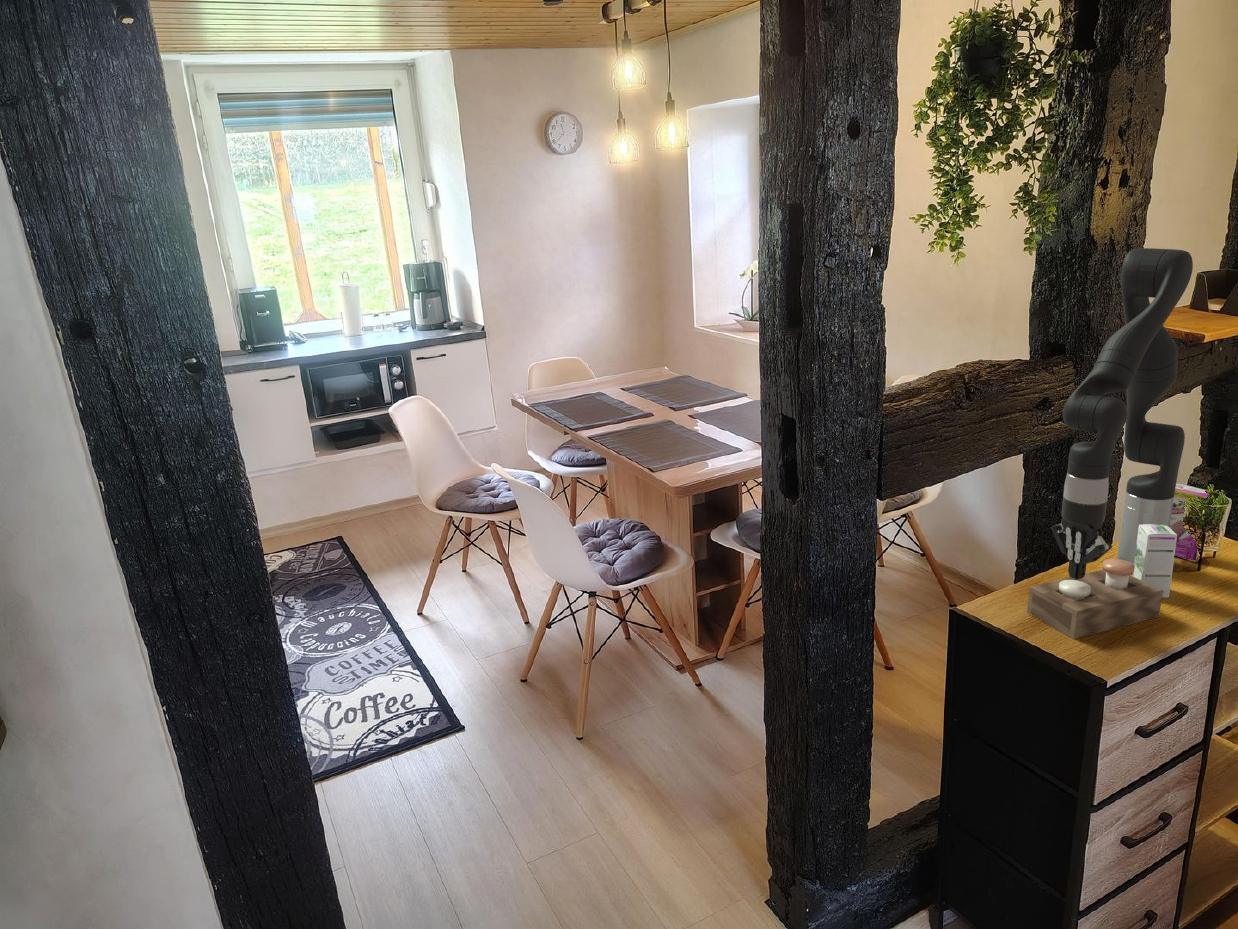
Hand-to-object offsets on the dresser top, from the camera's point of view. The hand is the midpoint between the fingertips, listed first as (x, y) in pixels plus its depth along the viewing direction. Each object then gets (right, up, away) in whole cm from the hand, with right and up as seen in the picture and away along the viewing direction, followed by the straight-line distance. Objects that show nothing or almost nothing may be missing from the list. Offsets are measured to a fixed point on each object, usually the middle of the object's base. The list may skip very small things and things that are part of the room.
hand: (1075, 577), depth 171 cm
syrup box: (+23, -5, +13) cm, 26 cm away
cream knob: (0, -9, +2) cm, 9 cm away
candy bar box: (+39, +1, +30) cm, 50 cm away
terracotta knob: (+11, -5, +5) cm, 13 cm away
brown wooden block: (+6, -8, +4) cm, 11 cm away
